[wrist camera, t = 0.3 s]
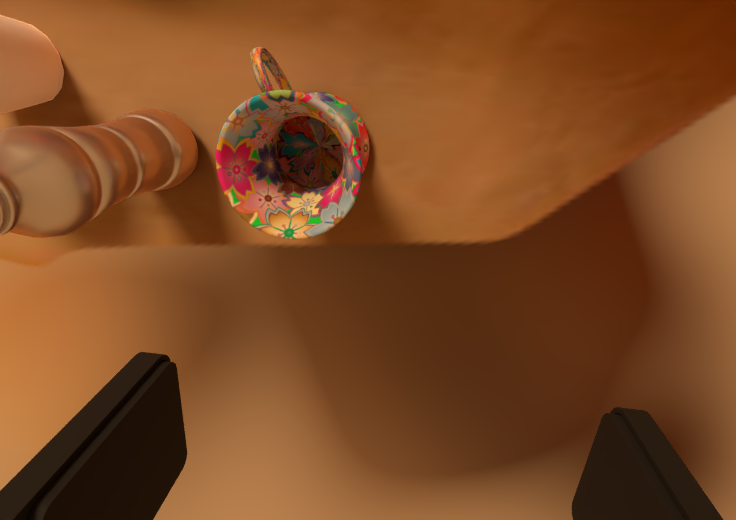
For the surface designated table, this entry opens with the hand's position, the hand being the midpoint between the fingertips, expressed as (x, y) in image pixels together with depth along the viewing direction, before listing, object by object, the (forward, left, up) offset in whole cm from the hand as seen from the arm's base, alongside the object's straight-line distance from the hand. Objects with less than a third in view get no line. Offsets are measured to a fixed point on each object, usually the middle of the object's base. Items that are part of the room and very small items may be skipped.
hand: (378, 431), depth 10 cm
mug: (-3, -7, -30) cm, 31 cm away
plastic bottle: (-2, -20, -30) cm, 37 cm away
